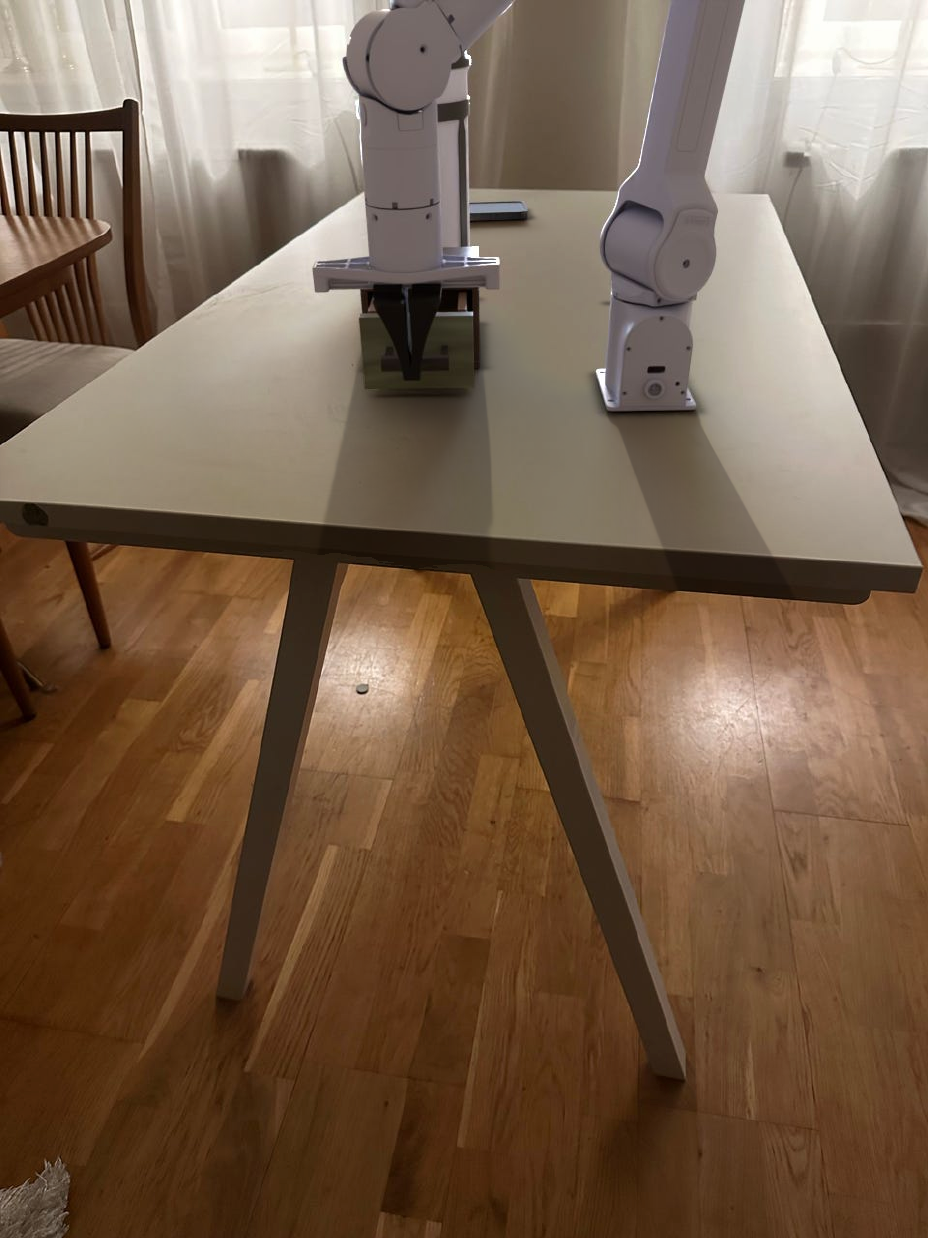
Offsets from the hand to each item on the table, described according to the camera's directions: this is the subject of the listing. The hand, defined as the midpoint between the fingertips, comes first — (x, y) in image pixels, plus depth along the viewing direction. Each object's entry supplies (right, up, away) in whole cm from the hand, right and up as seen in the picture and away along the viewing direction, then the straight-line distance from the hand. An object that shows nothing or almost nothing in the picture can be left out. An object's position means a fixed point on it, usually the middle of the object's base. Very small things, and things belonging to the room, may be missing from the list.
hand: (412, 376), depth 76 cm
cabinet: (0, +9, +20) cm, 22 cm away
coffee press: (-2, +20, +37) cm, 42 cm away
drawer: (0, +4, +12) cm, 12 cm away
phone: (+7, +44, +70) cm, 83 cm away
